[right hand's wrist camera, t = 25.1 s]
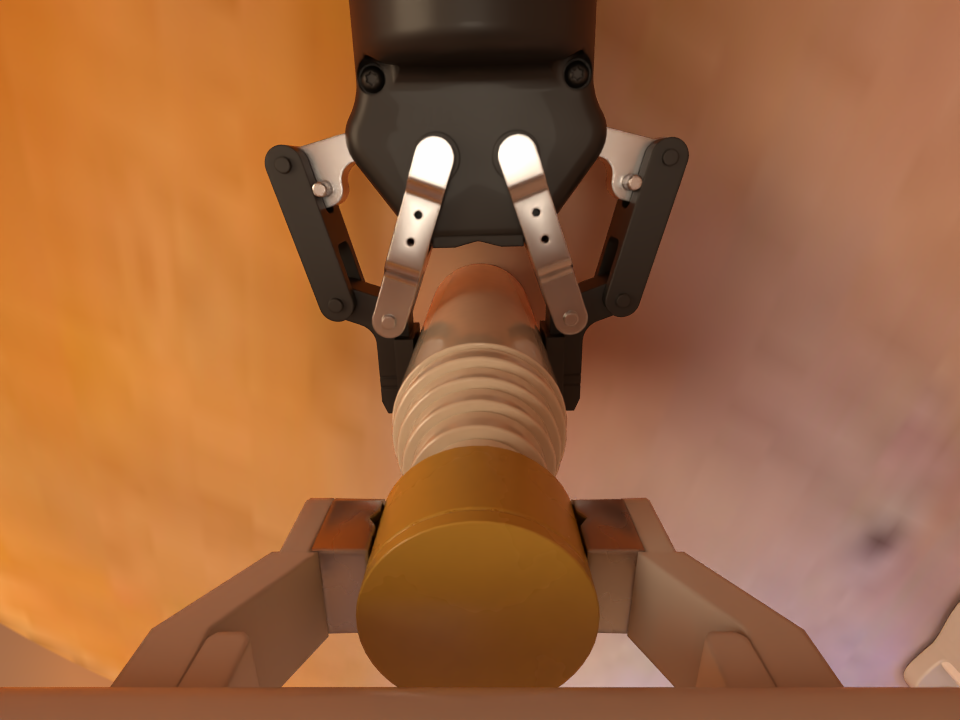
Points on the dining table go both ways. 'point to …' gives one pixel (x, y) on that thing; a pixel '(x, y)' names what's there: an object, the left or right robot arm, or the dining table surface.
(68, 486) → the dining table surface
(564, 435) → the bottle
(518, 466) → the cap
